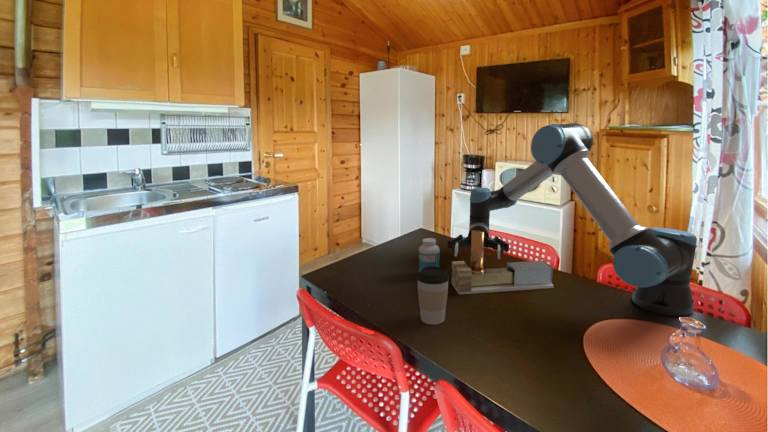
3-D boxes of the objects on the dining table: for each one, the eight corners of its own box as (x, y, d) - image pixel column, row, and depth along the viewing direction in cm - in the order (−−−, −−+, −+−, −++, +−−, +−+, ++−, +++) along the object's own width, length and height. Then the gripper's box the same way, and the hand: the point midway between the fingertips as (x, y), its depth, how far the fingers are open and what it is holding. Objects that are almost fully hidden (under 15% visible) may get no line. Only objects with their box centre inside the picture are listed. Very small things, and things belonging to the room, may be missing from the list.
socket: (471, 291, 133) (471, 270, 131) (459, 292, 132) (459, 271, 131) (463, 280, 141) (463, 260, 140) (451, 281, 141) (452, 261, 139)
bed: (553, 287, 136) (553, 285, 135) (459, 294, 133) (459, 291, 132) (540, 277, 144) (540, 274, 144) (451, 283, 141) (451, 280, 141)
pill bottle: (428, 270, 154) (428, 235, 151) (443, 275, 148) (444, 239, 145) (414, 275, 149) (414, 239, 146) (429, 281, 144) (429, 244, 141)
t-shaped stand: (519, 283, 136) (522, 231, 132) (460, 287, 134) (462, 234, 130) (513, 277, 141) (516, 227, 137) (456, 281, 139) (457, 230, 135)
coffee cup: (412, 323, 115) (412, 273, 111) (421, 309, 123) (421, 262, 119) (444, 328, 112) (445, 277, 108) (451, 313, 120) (452, 265, 116)
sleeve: (551, 286, 137) (553, 267, 135) (514, 289, 136) (515, 269, 134) (542, 278, 143) (543, 260, 142) (506, 281, 142) (507, 262, 140)
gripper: (513, 246, 149) (517, 267, 129) (444, 243, 155) (438, 262, 135) (514, 226, 148) (518, 244, 128) (444, 223, 153) (438, 240, 133)
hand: (477, 253), depth 131 cm, fingers open, 13 cm apart
